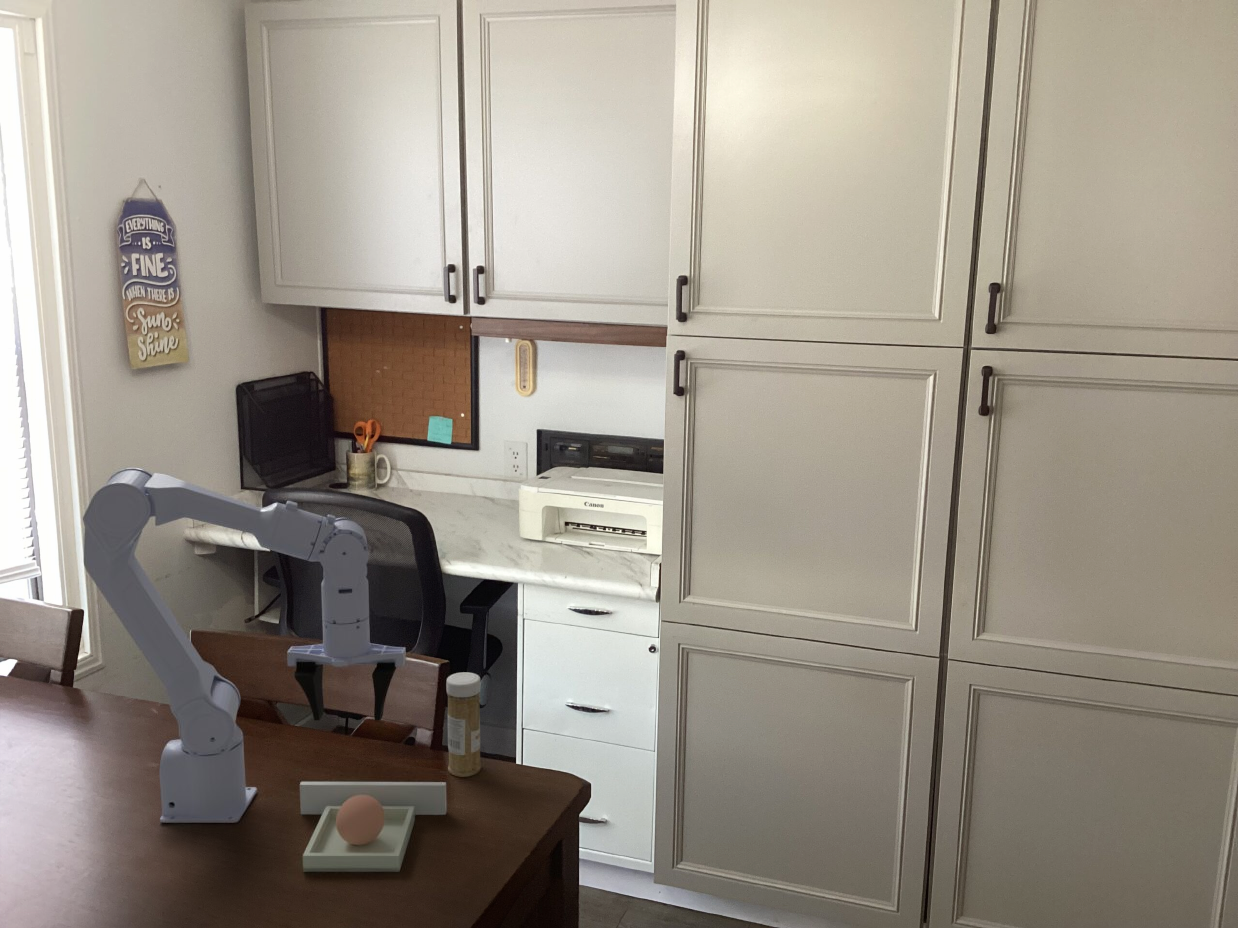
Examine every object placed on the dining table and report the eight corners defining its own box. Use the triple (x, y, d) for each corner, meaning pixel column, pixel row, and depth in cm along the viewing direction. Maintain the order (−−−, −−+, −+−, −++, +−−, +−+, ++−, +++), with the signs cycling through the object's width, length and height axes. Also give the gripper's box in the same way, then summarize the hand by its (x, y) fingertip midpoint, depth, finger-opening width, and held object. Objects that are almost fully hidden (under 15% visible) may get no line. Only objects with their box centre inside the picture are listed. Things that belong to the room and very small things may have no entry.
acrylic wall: (300, 814, 128) (299, 784, 127) (302, 810, 129) (301, 781, 128) (445, 814, 129) (445, 785, 128) (446, 811, 129) (446, 782, 129)
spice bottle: (486, 772, 139) (486, 679, 137) (455, 781, 137) (455, 686, 134) (472, 758, 143) (471, 668, 141) (441, 767, 141) (440, 674, 138)
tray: (303, 871, 116) (302, 855, 116) (326, 820, 127) (326, 805, 126) (399, 871, 116) (398, 855, 116) (414, 820, 127) (414, 806, 127)
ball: (331, 854, 119) (329, 810, 118) (343, 828, 124) (341, 786, 123) (380, 854, 119) (378, 810, 118) (389, 827, 124) (387, 785, 123)
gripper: (278, 627, 125) (282, 730, 127) (398, 628, 125) (400, 731, 128) (294, 607, 132) (298, 706, 134) (407, 609, 132) (409, 707, 135)
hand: (348, 717), depth 132 cm, fingers open, 7 cm apart
